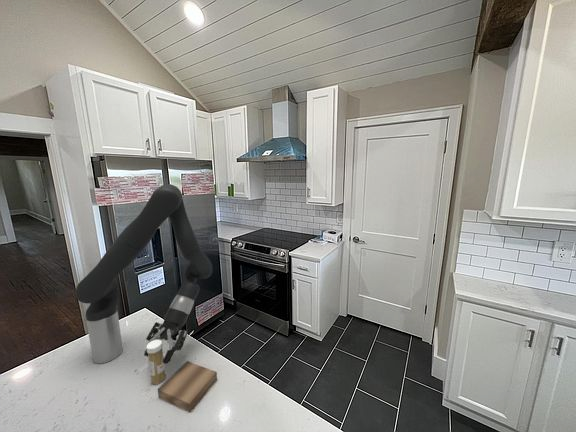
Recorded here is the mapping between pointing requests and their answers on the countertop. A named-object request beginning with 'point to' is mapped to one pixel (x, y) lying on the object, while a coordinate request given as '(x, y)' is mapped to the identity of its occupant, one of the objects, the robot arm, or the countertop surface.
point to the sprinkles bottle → (156, 361)
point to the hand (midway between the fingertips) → (155, 359)
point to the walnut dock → (187, 385)
